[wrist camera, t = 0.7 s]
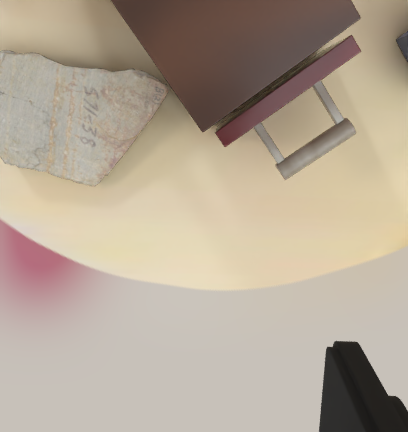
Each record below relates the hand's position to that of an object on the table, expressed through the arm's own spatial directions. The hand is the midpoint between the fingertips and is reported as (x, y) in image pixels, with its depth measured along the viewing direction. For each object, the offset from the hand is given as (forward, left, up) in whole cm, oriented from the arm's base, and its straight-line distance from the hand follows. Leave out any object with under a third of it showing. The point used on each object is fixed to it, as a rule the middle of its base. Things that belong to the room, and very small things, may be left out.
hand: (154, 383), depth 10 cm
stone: (+6, -13, -26) cm, 30 cm away
